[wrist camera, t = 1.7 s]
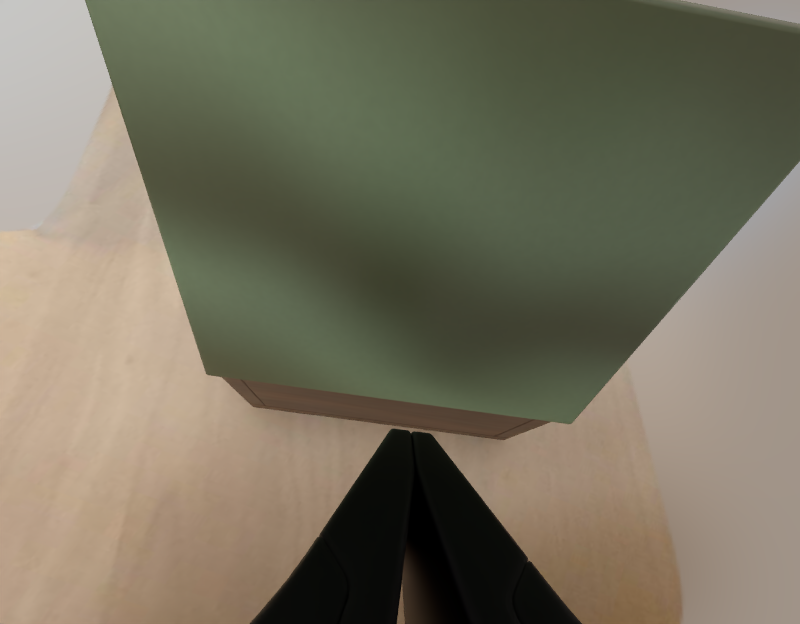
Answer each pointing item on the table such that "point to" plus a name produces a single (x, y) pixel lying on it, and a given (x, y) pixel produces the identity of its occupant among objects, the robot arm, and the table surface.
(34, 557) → the table surface
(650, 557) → the table surface
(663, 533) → the table surface
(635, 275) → the lid
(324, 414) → the chest
